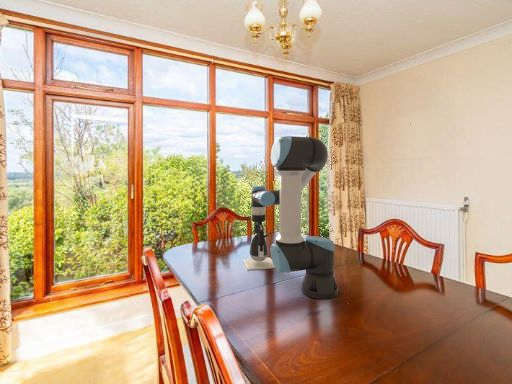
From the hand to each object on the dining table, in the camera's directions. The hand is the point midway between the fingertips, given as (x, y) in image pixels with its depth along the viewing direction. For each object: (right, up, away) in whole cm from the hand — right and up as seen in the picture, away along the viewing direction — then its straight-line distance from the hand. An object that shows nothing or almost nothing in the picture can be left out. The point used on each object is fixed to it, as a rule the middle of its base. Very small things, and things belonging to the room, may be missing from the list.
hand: (259, 254), depth 156 cm
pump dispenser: (0, -3, 0) cm, 3 cm away
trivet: (0, -6, 0) cm, 6 cm away
